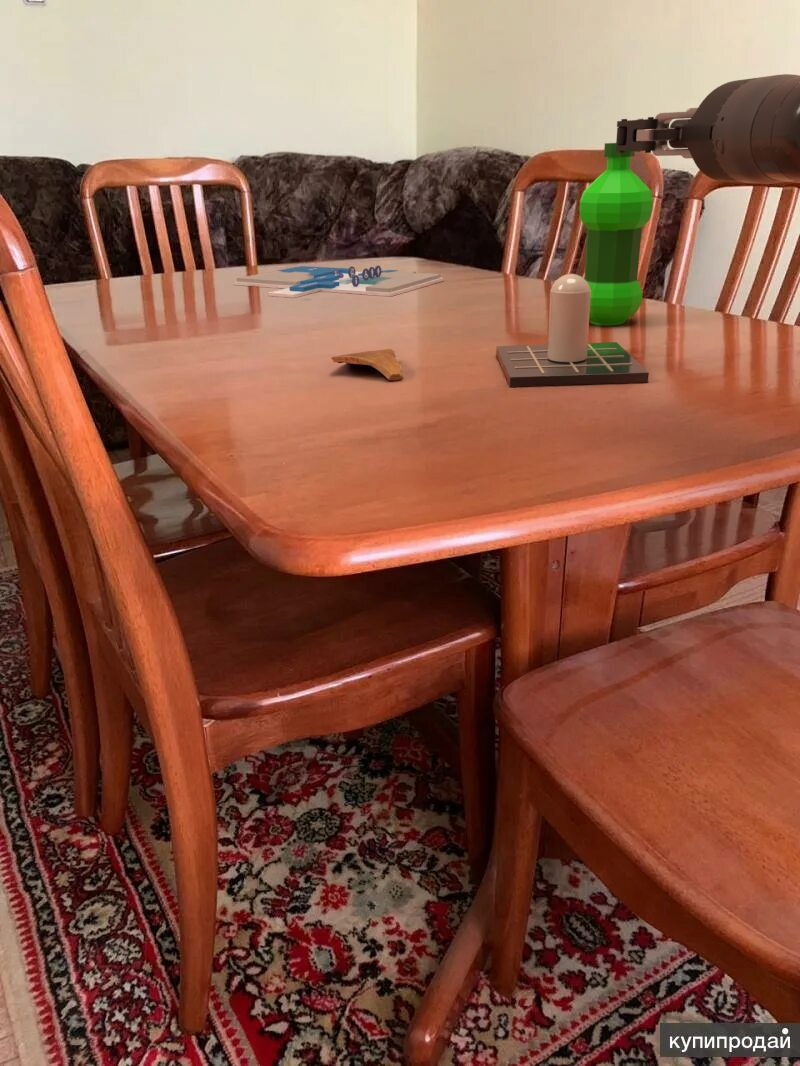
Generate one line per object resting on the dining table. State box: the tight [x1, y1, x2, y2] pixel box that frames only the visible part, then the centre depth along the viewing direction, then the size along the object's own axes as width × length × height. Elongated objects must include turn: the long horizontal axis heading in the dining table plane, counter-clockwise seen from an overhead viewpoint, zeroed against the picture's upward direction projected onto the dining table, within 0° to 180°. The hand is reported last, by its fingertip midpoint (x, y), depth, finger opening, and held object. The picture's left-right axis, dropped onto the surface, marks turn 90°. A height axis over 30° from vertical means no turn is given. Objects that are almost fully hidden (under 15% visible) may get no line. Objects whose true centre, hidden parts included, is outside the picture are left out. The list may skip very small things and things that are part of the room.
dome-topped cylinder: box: [547, 273, 591, 362], centre depth 100 cm, size 5×5×10 cm
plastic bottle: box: [578, 142, 654, 327], centre depth 122 cm, size 10×10×25 cm
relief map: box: [233, 265, 445, 299], centre depth 170 cm, size 30×40×4 cm
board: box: [495, 341, 650, 388], centre depth 103 cm, size 16×16×1 cm
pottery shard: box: [330, 348, 404, 381], centre depth 104 cm, size 10×9×2 cm
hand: (666, 134), depth 79 cm, fingers open, 8 cm apart
